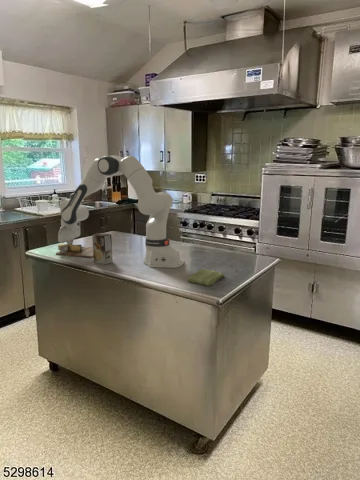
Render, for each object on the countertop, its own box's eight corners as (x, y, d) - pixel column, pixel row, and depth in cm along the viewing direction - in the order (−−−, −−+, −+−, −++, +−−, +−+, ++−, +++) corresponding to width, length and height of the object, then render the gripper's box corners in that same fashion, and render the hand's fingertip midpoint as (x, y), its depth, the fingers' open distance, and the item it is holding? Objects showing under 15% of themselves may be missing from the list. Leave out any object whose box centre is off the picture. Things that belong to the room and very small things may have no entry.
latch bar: (82, 250, 219) (82, 244, 218) (80, 252, 216) (80, 245, 215) (61, 249, 222) (60, 243, 221) (58, 250, 219) (58, 244, 218)
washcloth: (225, 276, 180) (225, 270, 180) (210, 288, 165) (210, 281, 165) (201, 272, 187) (202, 266, 186) (185, 282, 172) (185, 276, 171)
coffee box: (113, 261, 202) (112, 234, 198) (106, 264, 197) (104, 236, 193) (100, 259, 206) (99, 232, 202) (93, 262, 201) (91, 234, 197)
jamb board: (105, 250, 226) (105, 242, 224) (91, 258, 209) (91, 249, 208) (72, 247, 232) (71, 239, 231) (55, 254, 215) (55, 246, 214)
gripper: (63, 228, 212) (65, 250, 215) (81, 222, 231) (82, 242, 235) (54, 227, 214) (56, 250, 217) (73, 221, 233) (74, 242, 236)
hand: (70, 246), depth 226 cm, fingers closed
